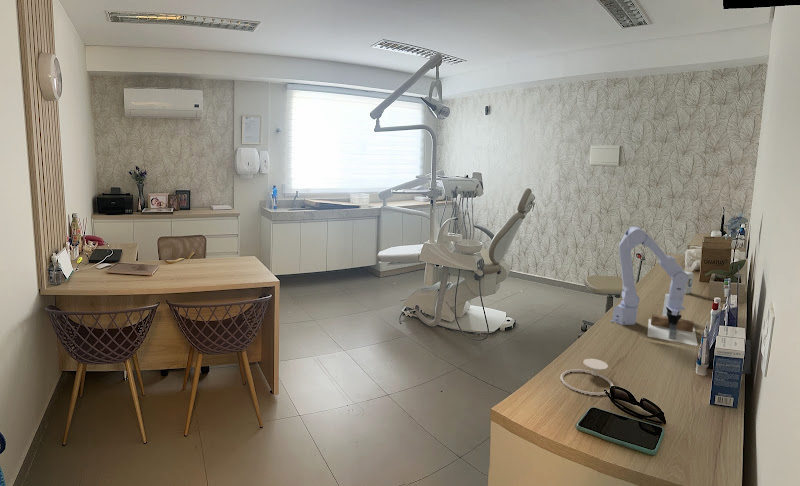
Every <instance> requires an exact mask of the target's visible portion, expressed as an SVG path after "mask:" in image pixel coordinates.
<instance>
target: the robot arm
mask: <svg viewBox="0 0 800 486" xmlns="http://www.w3.org/2000/svg"><path fill="white" fill-rule="evenodd" d="M641 244H642V246H646V247H648V248H649V249H650V250H651V252H652V253H653V254H654V255H655V256H656V257H657V258H658V259H659V261H658V264H659V265H660V267H661V268H662V269H663V271H665V273H666V274H667V275H668V276H669V277H670V285H669V291H668V294H669V296H668V303H667V306H666V308H667V311H668V312H667V316H668V321H669V325H670V323H672V324H676V325H677V322H678V320H679V319H681V318H682V317H683V316H682V314H680V315H678V313H679V312H680V313H681V311H684V310H686V307H685V306H683V304H684V297H685V294H684V292H685V285H686V283H687V282H688V280H689V279H688V275H687V274H686V273H685V272H684V271H685V270H684V268H683V266H681V265H680V264H678V263H677V261H676V260H677V259H676V258H675V257H674V256H671V255H670V254H669V255H668V254H665V252H664V251H663V250H662V249H661V247H660V246H659V244H658V243H657V242H656V240H655V239H654V238H652V236H650V235H649V234H648V233H646V231H644V230H643V228H641V227H640V226H630V227H629V228H627V230H625V232H624V235H623V237H622V239H621V240H620V242H619V244H618V254H619V255H618V256H619V262H620V270H621V280H622V291H621V293H620V297H621V298H622V300H621V301H620V303H619V304H618V305H616V306H614V307H613V313H612V320H611V319H610V322H611V323H614V322H615V323H617V324H619V325H620V326H626V325H628V326H629V325H631V326H633V325H636V323H637V314H638V309H639V303H640V302H641V301H640V297H639V296H638V294H637V289H636V284H635V278H634V277H635V276H634V269H633V268H634V267H633V257H632V250H633V249H635V247H636V246H638V245H641ZM683 270H684V271H683Z"/></svg>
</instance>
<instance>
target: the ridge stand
mask: <svg viewBox="0 0 800 486" xmlns="http://www.w3.org/2000/svg"><path fill="white" fill-rule="evenodd" d="M651 319H652V318H648V324H647V337H650V338H655V339H658V340H657V341H658V342H659V341H660V340H663V341H662V342H664V343H665V341H670V342H672V344H674V345H675V343H673V342H676V343H677V345H680V344H678V343H681V344H685V345H691V346H693V348H696V347H694V346H697V347H698V340H697V339H698V338H697V335H696V330H695V326H693V332H689V331H683V330H678V329H677V327H676V324H672V323H670V325H669V328H666V327H661V326H655V325H651ZM646 339H648V338H646ZM648 340H649V339H648ZM664 340H665V341H664ZM670 342H667V343H670ZM691 346H688V347H690V348H691Z"/></svg>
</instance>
